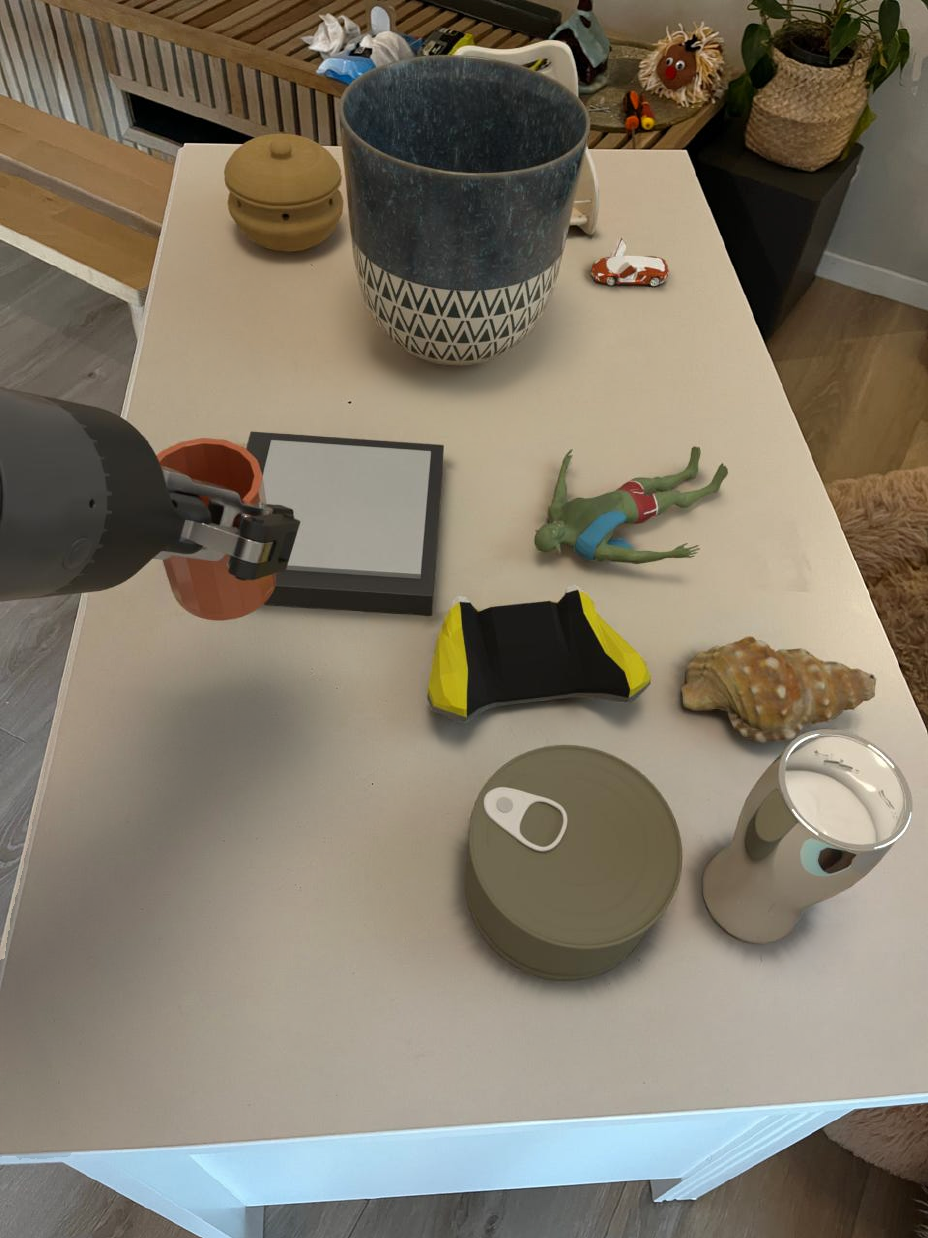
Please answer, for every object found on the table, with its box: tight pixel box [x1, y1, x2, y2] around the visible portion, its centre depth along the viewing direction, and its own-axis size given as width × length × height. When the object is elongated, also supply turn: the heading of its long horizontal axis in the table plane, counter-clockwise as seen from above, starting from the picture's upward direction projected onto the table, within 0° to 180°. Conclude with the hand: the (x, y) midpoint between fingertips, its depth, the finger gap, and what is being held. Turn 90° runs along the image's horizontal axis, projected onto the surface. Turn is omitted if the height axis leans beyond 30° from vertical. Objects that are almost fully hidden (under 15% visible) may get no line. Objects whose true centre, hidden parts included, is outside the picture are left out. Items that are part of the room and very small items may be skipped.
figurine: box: [533, 446, 729, 565], centre depth 74 cm, size 16×4×18 cm
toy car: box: [590, 237, 669, 288], centre depth 95 cm, size 5×8×3 cm, turn 92°
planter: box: [338, 54, 591, 367], centre depth 79 cm, size 20×20×21 cm
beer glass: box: [701, 728, 914, 945], centre depth 51 cm, size 7×7×15 cm
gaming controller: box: [426, 584, 652, 723], centre depth 63 cm, size 15×6×10 cm
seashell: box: [680, 635, 877, 743], centre depth 63 cm, size 9×8×10 cm
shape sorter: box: [452, 39, 600, 235], centre depth 94 cm, size 20×10×18 cm, turn 104°
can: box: [464, 744, 683, 981], centre depth 54 cm, size 12×12×7 cm
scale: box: [245, 431, 445, 616], centre depth 72 cm, size 16×16×3 cm
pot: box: [223, 133, 344, 252], centre depth 93 cm, size 12×12×10 cm
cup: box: [156, 437, 277, 622], centre depth 48 cm, size 6×6×8 cm
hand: (229, 507), depth 49 cm, fingers closed on cup, 6 cm apart
